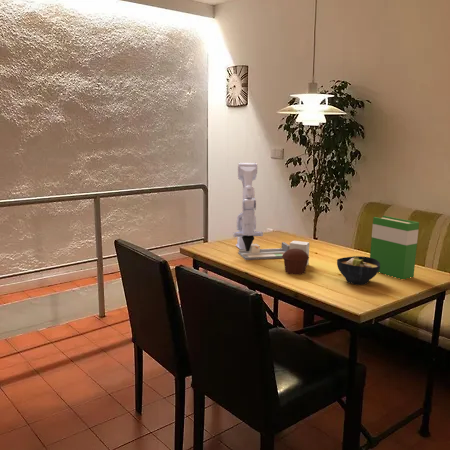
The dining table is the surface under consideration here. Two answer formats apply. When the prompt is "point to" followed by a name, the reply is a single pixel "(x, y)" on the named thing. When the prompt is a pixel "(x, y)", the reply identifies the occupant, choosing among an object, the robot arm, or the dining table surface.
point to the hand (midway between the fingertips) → (247, 250)
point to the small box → (300, 246)
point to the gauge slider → (254, 248)
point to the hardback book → (394, 246)
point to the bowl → (358, 269)
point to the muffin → (295, 261)
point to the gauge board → (265, 253)
